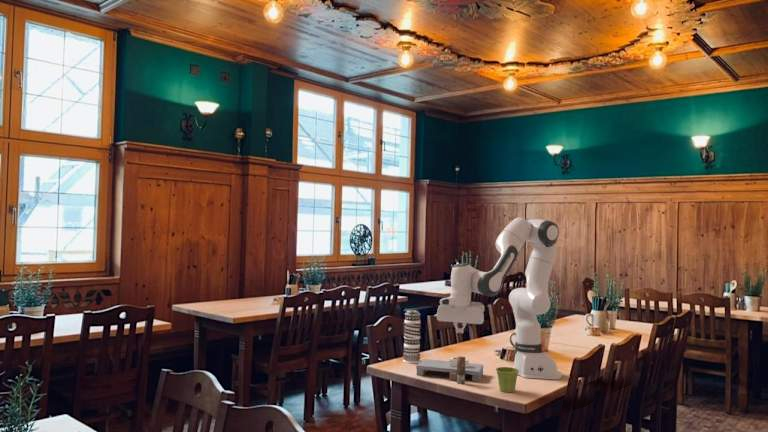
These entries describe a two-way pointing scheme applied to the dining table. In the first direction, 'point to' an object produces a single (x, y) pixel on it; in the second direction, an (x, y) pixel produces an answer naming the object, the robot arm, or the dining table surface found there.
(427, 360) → the grey pallet
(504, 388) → the plant pot
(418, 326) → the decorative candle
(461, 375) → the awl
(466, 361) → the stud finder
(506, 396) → the dining table surface
